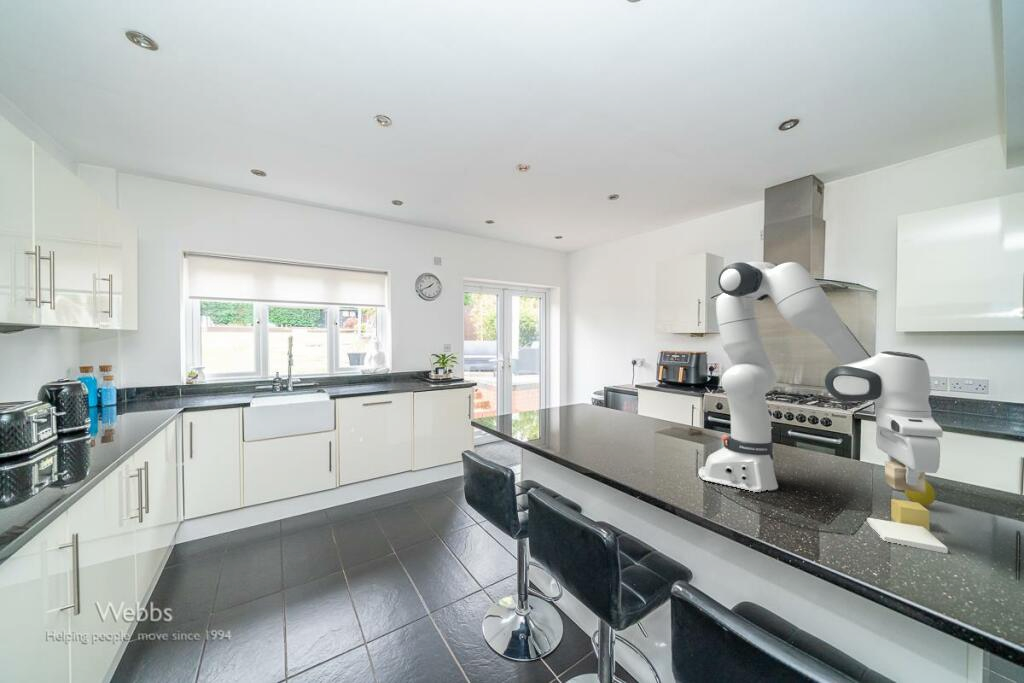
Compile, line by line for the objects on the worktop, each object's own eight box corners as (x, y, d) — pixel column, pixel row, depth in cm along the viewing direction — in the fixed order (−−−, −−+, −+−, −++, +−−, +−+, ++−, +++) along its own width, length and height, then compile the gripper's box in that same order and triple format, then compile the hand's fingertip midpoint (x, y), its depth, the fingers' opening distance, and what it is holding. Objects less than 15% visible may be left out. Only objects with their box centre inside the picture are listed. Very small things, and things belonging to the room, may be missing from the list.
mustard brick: (900, 526, 89) (900, 506, 89) (891, 518, 93) (891, 498, 93) (929, 531, 87) (929, 511, 87) (918, 522, 91) (918, 502, 91)
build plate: (884, 541, 82) (884, 536, 82) (867, 522, 91) (866, 517, 91) (947, 553, 78) (947, 547, 78) (922, 531, 87) (922, 526, 87)
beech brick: (894, 489, 83) (894, 467, 83) (885, 481, 88) (884, 461, 88) (925, 493, 81) (924, 470, 81) (914, 485, 85) (913, 464, 85)
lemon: (941, 512, 96) (941, 482, 96) (916, 510, 97) (916, 481, 97) (922, 503, 101) (922, 474, 101) (899, 501, 102) (898, 473, 102)
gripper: (867, 411, 95) (868, 463, 95) (905, 428, 77) (906, 492, 77) (900, 413, 92) (901, 467, 92) (947, 431, 74) (949, 498, 74)
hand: (904, 479), depth 84 cm, fingers closed on beech brick, 5 cm apart
